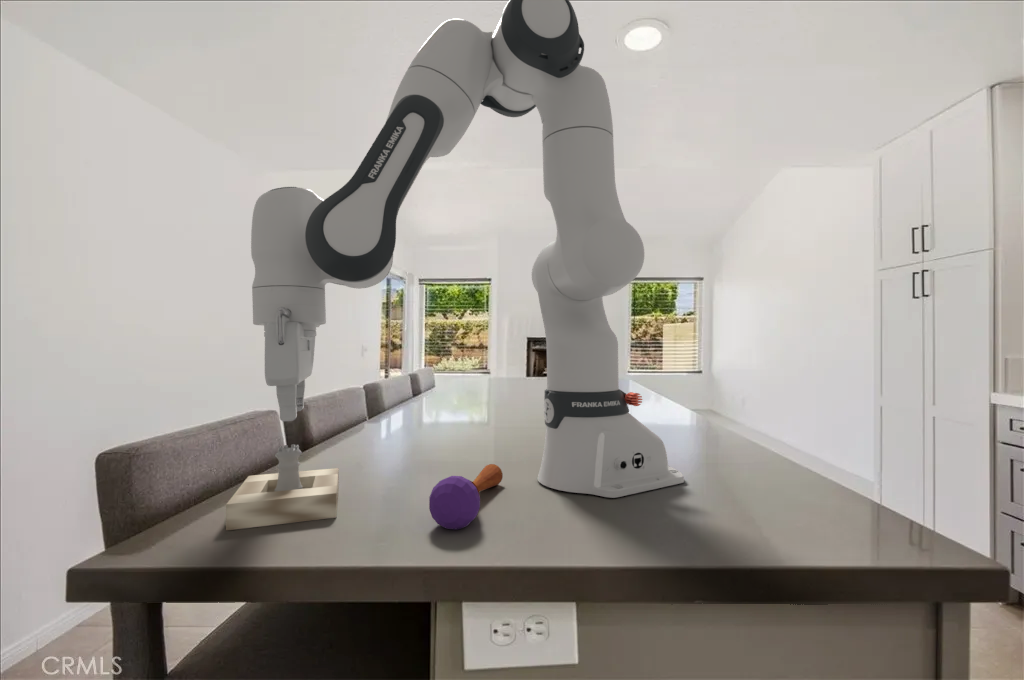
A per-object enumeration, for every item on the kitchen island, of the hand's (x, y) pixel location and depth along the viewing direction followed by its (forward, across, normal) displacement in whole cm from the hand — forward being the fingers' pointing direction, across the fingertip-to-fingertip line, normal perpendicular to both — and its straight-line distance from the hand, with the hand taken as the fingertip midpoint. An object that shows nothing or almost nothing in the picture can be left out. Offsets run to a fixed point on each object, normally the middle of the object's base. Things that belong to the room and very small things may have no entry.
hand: (293, 415), depth 63 cm
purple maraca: (+13, -8, -22) cm, 27 cm away
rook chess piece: (+12, 0, +1) cm, 12 cm away
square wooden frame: (+12, 0, +1) cm, 12 cm away
